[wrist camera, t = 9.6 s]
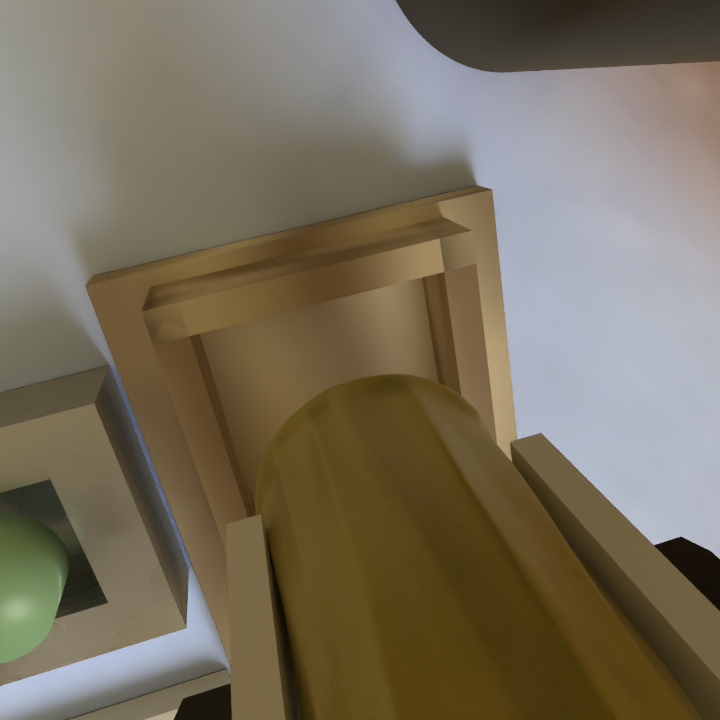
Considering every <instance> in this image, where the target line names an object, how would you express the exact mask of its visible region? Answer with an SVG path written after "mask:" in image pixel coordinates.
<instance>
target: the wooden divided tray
mask: <svg viewBox="0 0 720 720" xmlns="http://www.w3.org/2000/svg"><path fill="white" fill-rule="evenodd" d="M86 289H87V291H88V294H89V296H90V299H91V302H92V304H93V307H94V310H95V312H96V315H97V317H98V320H99V323H100V325H101V328H102V330H103V333H104V336H105V338H106V341H107V343H108V346H109V349H110V351H111V354H112V356H113V359H114V362H115V364H116V367H117V370H118V372H119V375H120V377H121V380H122V383H123V385H124V388H125V390H126V393H127V396H128V398H129V401H130V403H131V406H132V409H133V411H134V414H135V416H136V419H137V422H138V424H139V427H140V430H141V432H142V435H143V437H144V440H145V443H146V445H147V448H148V450H149V453H150V456H151V458H152V461H153V463H154V466H155V469H156V471H157V474H158V476H159V479H160V482H161V484H162V487H163V490H164V492H165V495H166V497H167V500H168V503H169V505H170V508H171V510H172V513H173V516H174V518H175V521H176V523H177V526H178V529H179V531H180V534H181V536H182V539H183V542H184V544H185V547H186V550H187V552H188V555H189V557H190V560H191V563H192V565H193V568H194V570H195V573H196V576H197V578H198V581H199V583H200V586H201V589H202V591H203V594H204V596H205V599H206V602H207V604H208V607H209V610H210V612H211V615H212V617H213V620H214V623H215V625H216V628H217V630H218V633H219V636H220V638H221V641H222V643H223V646H224V649H225V651H226V654H227V657H228V659H229V662H230V641H229V609H228V577H227V546H226V524H228V523H232V522H235V521H239V520H242V519H246V518H249V517H253V516H256V510H255V499H254V495H255V484H256V479H257V474H258V470H259V467H260V464H261V461H262V459H263V456H264V454H265V452H266V450H267V448H268V446H269V444H270V442H271V440H272V439H273V437H274V436H275V434H276V433H277V431H278V430H279V429H280V428H281V426H282V425H283V424H284V423H285V422H286V421H287V420H288V419H289V418H290V417H291V416H292V415H293V414H294V413H295V412H296V411H297V410H298V409H300V408H301V407H302V406H303V405H304V404H306V403H307V402H308V401H310V400H311V399H312V398H314V397H316V396H317V395H319V394H321V393H322V392H324V391H326V390H328V389H330V388H332V387H334V386H337V385H339V384H342V383H345V382H348V381H352V380H355V379H359V378H364V377H368V376H375V375H383V374H408V375H413V376H418V377H422V378H425V379H429V380H432V381H434V382H437V383H439V384H442V385H444V386H446V387H448V388H450V389H451V390H453V391H455V392H457V393H458V394H459V395H461V396H462V397H464V398H465V399H466V400H467V401H468V402H469V403H470V404H471V405H472V406H473V407H474V408H476V410H477V411H478V413H479V414H480V416H481V417H482V419H483V421H484V422H485V424H486V426H487V428H488V430H489V432H490V434H491V436H492V438H493V441H494V442H495V443H496V444H497V445H498V446H499V447H500V448H501V450H502V451H503V452H504V453H505V455H506V456H507V457H508V458H509V459H510V461H511V462H512V459H511V449H510V442H511V441H515V440H517V432H516V422H515V412H514V403H513V393H512V383H511V373H510V363H509V353H508V343H507V333H506V323H505V313H504V303H503V293H502V283H501V273H500V263H499V253H498V243H497V234H496V224H495V214H494V204H493V194H492V189H488V188H485V187H481V186H473V187H469V188H465V189H461V190H456V191H452V192H448V193H444V194H439V195H435V196H431V197H427V198H422V199H418V200H414V201H410V202H405V203H401V204H397V205H393V206H388V207H384V208H380V209H376V210H371V211H367V212H363V213H359V214H354V215H350V216H346V217H342V218H337V219H333V220H329V221H325V222H320V223H316V224H312V225H308V226H303V227H299V228H295V229H291V230H286V231H282V232H278V233H274V234H269V235H265V236H261V237H257V238H253V239H248V240H244V241H240V242H236V243H231V244H227V245H223V246H219V247H214V248H210V249H206V250H202V251H197V252H193V253H189V254H185V255H180V256H176V257H172V258H168V259H163V260H159V261H155V262H151V263H146V264H142V265H138V266H134V267H129V268H125V269H121V270H117V271H112V272H108V273H104V274H100V275H95V276H92V277H91V279H90V280H89V282H88V283H87V284H86Z"/></svg>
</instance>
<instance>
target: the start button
mask: <svg viewBox="0 0 720 720" xmlns="http://www.w3.org/2000/svg"><path fill="white" fill-rule="evenodd" d="M68 573H69V557H68V553H67V550H66V547H65V545H64V544H63V542H62V540H61V539H60V538H59V537H58V535H57V534H56V533H55V532H54V531H53V530H51V529H50V528H49V527H47V526H46V525H45V524H43V523H41V522H39V521H38V520H36V519H33V518H31V517H29V516H25V515H22V514H18V513H13V512H4V511H0V664H1V663H5V662H9V661H12V660H14V659H17V658H19V657H21V656H23V655H25V654H27V653H28V652H30V651H32V650H33V649H34V648H35V647H37V646H38V645H39V644H40V643H41V642H42V641H43V640H44V639H45V637H46V636H47V635H48V633H49V631H50V629H51V627H52V625H53V622H54V619H55V616H56V612H57V609H58V606H59V603H60V599H61V596H62V593H63V590H64V586H65V583H66V580H67V577H68Z"/></svg>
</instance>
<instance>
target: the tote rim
mask: <svg viewBox="0 0 720 720" xmlns="http://www.w3.org/2000/svg"><path fill="white" fill-rule="evenodd" d="M230 683H231V678H230V675H229V672H228V670H227V669H225V670H222V671H219V672H215V673H212V674H209V675H206V676H203V677H200V678H197V679H194V680H191V681H187V682H184V683H181V684H178V685H175V686H172V687H169V688H166V689H163V690H159V691H156V692H153V693H150V694H147V695H144V696H141V697H138V698H135V699H131V700H128V701H125V702H122V703H119V704H116V705H113V706H110V707H107V708H103V709H100V710H97V711H94V712H91V713H88V714H85V715H82V716H79V717H75V718H72V719H69V720H174V718H175V715H176V713H177V711H178V709H179V706H180V704H181V702H182V700H183V698H186V697H189V696H192V695H196V694H199V693H202V692H205V691H208V690H211V689H214V688H217V687H220V686H224V685H227V684H230Z"/></svg>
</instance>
